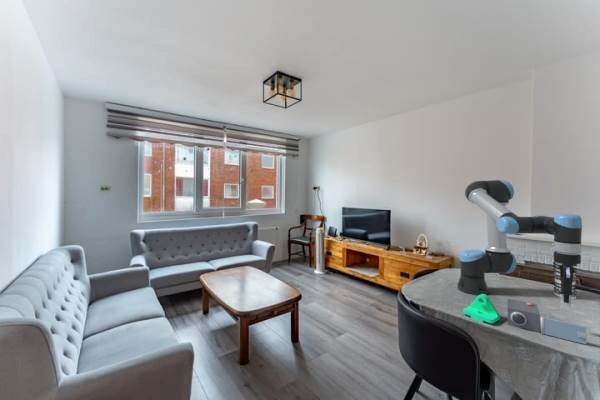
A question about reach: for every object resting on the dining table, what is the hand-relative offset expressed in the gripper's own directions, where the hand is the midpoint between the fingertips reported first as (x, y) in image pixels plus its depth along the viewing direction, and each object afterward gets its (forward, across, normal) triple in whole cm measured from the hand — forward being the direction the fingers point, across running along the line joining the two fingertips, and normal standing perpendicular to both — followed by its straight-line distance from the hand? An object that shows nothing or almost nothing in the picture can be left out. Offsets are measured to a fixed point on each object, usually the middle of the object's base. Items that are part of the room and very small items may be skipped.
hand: (565, 309), depth 101 cm
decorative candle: (+11, -50, +4) cm, 51 cm away
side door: (+9, +8, -1) cm, 12 cm away
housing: (+9, +2, -13) cm, 16 cm away
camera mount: (+10, +9, -27) cm, 30 cm away
